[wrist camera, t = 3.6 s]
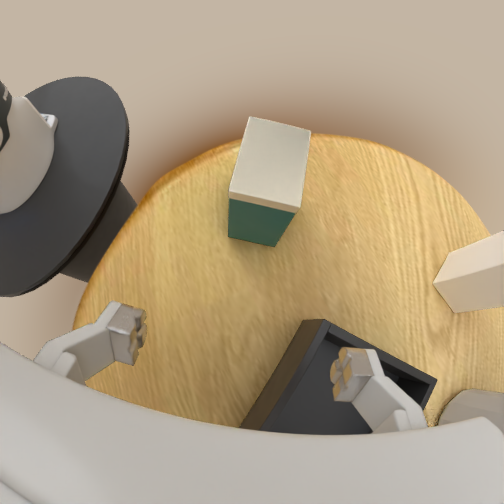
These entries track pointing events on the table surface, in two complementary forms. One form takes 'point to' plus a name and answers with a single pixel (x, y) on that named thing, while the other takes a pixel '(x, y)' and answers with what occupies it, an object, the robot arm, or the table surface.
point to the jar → (475, 407)
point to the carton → (267, 181)
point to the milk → (474, 276)
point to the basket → (323, 385)
